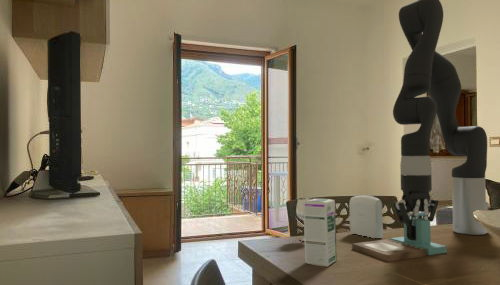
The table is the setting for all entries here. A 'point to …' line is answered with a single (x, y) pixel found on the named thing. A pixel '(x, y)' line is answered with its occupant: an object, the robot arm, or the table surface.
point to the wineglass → (301, 207)
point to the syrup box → (320, 232)
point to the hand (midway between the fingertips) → (416, 238)
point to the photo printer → (366, 216)
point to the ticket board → (389, 250)
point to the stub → (422, 238)
